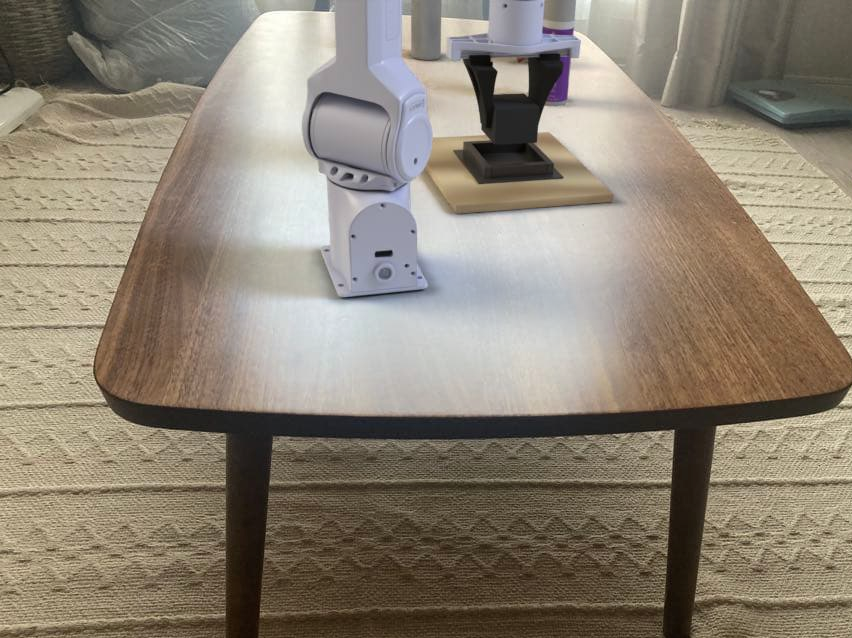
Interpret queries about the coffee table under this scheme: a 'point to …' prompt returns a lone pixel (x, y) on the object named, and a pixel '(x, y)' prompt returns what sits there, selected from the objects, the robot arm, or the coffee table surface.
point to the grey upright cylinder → (426, 29)
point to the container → (559, 23)
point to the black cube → (513, 120)
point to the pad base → (510, 174)
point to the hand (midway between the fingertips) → (509, 124)
